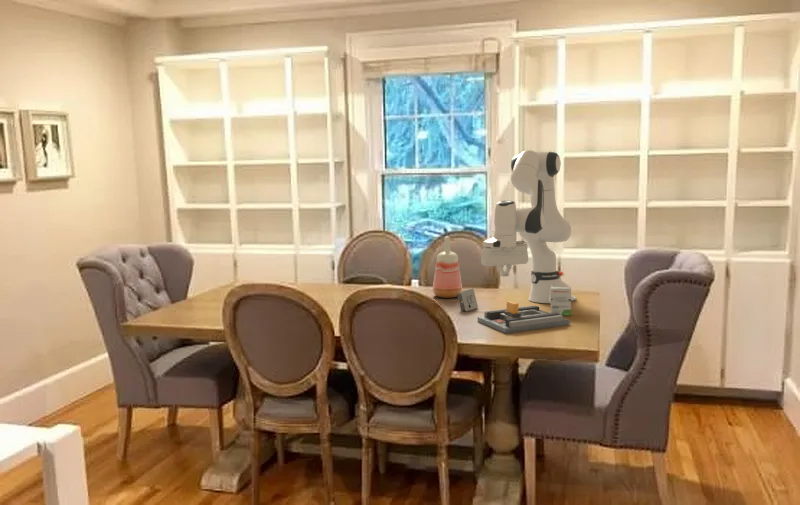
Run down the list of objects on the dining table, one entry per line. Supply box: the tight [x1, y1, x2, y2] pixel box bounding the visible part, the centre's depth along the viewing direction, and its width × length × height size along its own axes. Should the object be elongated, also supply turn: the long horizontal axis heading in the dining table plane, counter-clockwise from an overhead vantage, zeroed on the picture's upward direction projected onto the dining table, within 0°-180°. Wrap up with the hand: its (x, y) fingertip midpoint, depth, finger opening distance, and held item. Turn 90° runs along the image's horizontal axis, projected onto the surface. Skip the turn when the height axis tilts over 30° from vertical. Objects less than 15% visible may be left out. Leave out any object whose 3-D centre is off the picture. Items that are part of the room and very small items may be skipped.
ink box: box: [550, 286, 572, 316], centre depth 286 cm, size 9×5×12 cm, turn 76°
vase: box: [432, 236, 463, 299], centre depth 327 cm, size 14×14×30 cm
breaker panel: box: [477, 309, 571, 334], centre depth 273 cm, size 30×22×4 cm
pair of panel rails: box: [483, 305, 564, 328], centre depth 272 cm, size 24×21×2 cm
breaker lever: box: [504, 300, 521, 317], centre depth 270 cm, size 4×6×7 cm, turn 23°
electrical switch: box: [457, 287, 479, 312], centre depth 300 cm, size 9×5×9 cm, turn 141°
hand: (504, 276), depth 266 cm, fingers closed
